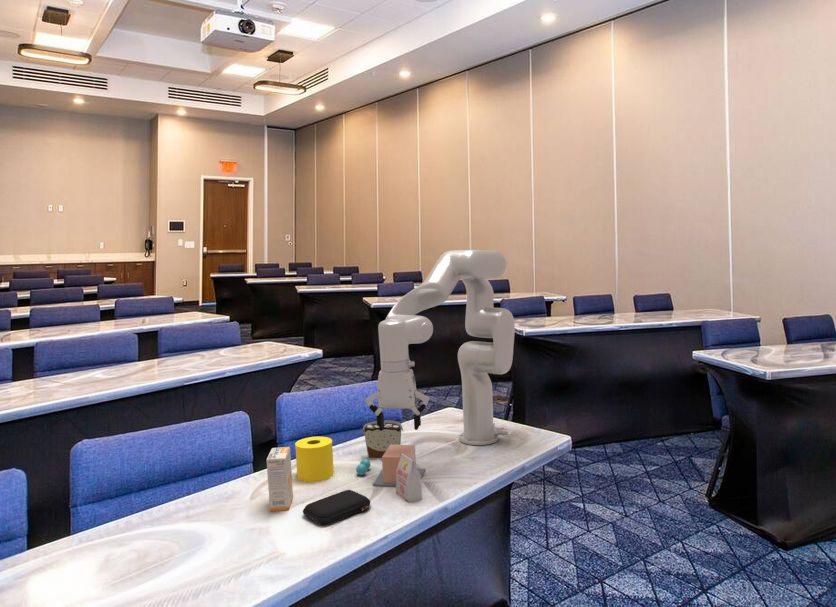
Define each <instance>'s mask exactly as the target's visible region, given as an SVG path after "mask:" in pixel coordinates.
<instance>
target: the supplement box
mask: <svg viewBox="0 0 836 607" xmlns="http://www.w3.org/2000/svg"><path fill="white" fill-rule="evenodd" d="M291 456H292V454H291V447H290V446H287V447H285V446H284V447H282V446H281V447H272V448H271V449H270V452H269V453H268V456H267V458H266V470H267V471H266V472H267V486H268V502H269V511H270V512H279V511H288V510H290V508H291V505H292V501H293V497H294V491H293V490H294V489H293V475H292V474H293V473H292V457H291Z"/></svg>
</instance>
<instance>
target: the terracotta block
mask: <svg viewBox="0 0 836 607" xmlns="http://www.w3.org/2000/svg"><path fill="white" fill-rule="evenodd" d="M400 454H404V455H405V456H407V457H408V458H410V459H412V460H413V461H414V463H415V465H416V466H417V463H416V462H417V461H416V460H417V459H416V457H417V456H416V445H415V444H400V445H390V446H389V447H388V449H387V450H386V452H385V453H384V455H383V456H382V459H381V460H382V461H381V462H382V463H381V464H382V469H383V483H396V476H395V470H396V467H397V464H398V461H399V458H400Z"/></svg>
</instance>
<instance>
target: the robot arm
mask: <svg viewBox="0 0 836 607" xmlns="http://www.w3.org/2000/svg"><path fill="white" fill-rule="evenodd" d="M506 260H507V259H506V257H505V255H504V254H503V253H502V252H501V251H499V250H495V249H493V250H491V249H489V250H487V249H486V250H485V249H484V250H483V249H453V250H447V251H444V252H443V253H442V254H441V255H440V256H439V258H438V259H437V261H436V262H435V263H434V265H433V266H432V268H431V270H430V272H429V273H428V275H427V276H426V278H424V280H423V282H422V283H421V284H420V285H418V286H417V287H415V288H413V289H412V290H411V291H409V292H407V293H406V294H405V295H403V296H402V297H400V298H399V299H398V300H397V301H396V302H395V303H394V304H393V306H392V308H391V310H390V311H389V312H388V314H387V315H386V317H385V319H384V320H382V321H380V322H379V323H378V327H377V328H378V329H377V330H378V341H379V342H378V344H379V345H378V346H379V355H380V356H379V358H380V370H379V372H378V377H377V378H378V379H377V392H375V393H373V394H372V395H371V394H370V395H369V396H368V397H366V398H365V403H366V404H367V405H368V407H369V410H370V411H371V412H372V413H374V415H375V416H376V421H377V426H379V430H382V429H383V428H384V420H385V417H384V412H383V410H385V409H386V410H395V409H396V410H398V409H399V410H402V409H403V410H405V409H407V410H408V409H410V410H411V411H412V412H413V413H414V415H413V424H414V425H413V426H414V428H413V429H414V430H415V431H417V430H418V429H419V427H420V426H421V425H422V422H421V421H422V420H421V413H422V412H423V411H424V410H425V409H426V407H428V403H429V401H430V398H431V397H430V396H428V395H425V394H423V393H421V392H419V391H417V386H416V385H417V384H416V378H415V375H414V370H413V369H412V367H415V361H414V360H410V355H409V345H411V344H423V343H425V342H427V341H428V340H430V338H432V335H433V334H434V333H433V332H434V325H433V323H432V321H431V320H430V319H429V318H428V317H426V316H424V315H417V314H419V313H420V312H422V311H425V310H428V309H430V308H435V307H437V306H439V305H441V304H443V303H445V302H447V300H448V299H449V297H450V295H451V294H452V292H453V290H455V287H456V286H457V284H458V283H459V281H460V280H461V281H462V283H463V284H464V286H465V290H466V307H465V319H464V320H465V322H464V324H465V326H464V327H465V332H466V333H467V335H469V336H471V337H475V338H483V339H484V338H485V339H492V341H493V342H487V341H476V340H475V341H474V340H472V341H471V340H470V341H467V342H463V344H462V345H461V346H460V347H459V348H458V352H457V362H458V366H459V370H460V375H461V376H460V377H461V387H462V389H461V390H462V391H461V393H462V414H463V415H462V420H463V421H462V422H463V432H461V433H460V434H459V435H458V440H459V442H461V443H463V444H466V445H472V446H487V445H491V444H494V443H497V441H499V437H500V436H508V435H509V433H508V432H509V429H508V428H505V427H497V426H495V422H494V407H493V406H494V405H493V403H494V402H493V401H494V400H493V384H492V380H491V378H490V376H489V374H491V375H492V374H493V375H504V374H507V373H508V372H509V371H510V370H511V367H512V364H513V356H514V344H515V333H516V332H515V330H516V329H515V328H516V327H515V326H516V325H515V318H514V316H513V314H512V312H511V311H510V309H507V308H505V307H504V308H503V307H494V301H495V300H494V299H495V296H494V289H493V285H491V283H490V281H489V280H488V279H499V278H500V277H502V276H503V275H504V273H505V272H506V268H507V261H506ZM376 399H377V405H378V406H377V405H376V404H375V403H374V402H373V401H374V400H376ZM418 399H419V400H421V401H422V404H420V405H418V404H417V403H418ZM499 435H500V436H499Z"/></svg>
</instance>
